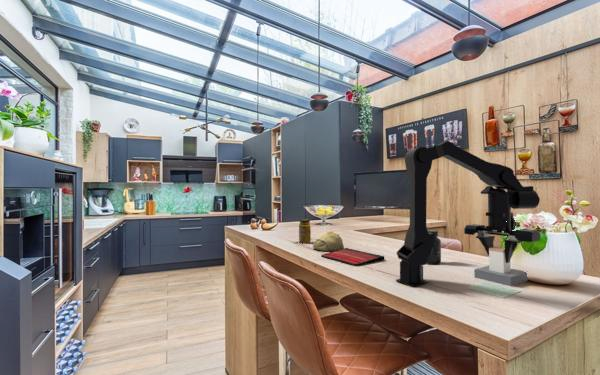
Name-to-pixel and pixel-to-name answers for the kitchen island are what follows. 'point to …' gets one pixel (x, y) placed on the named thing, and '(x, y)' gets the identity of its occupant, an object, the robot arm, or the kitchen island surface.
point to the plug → (498, 260)
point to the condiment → (304, 232)
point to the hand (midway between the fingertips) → (499, 261)
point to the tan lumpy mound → (328, 242)
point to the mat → (494, 289)
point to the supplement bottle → (435, 250)
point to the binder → (353, 257)
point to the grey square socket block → (501, 276)
